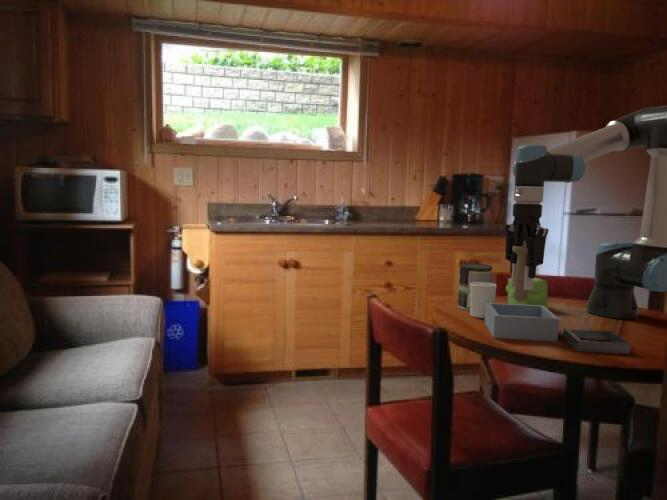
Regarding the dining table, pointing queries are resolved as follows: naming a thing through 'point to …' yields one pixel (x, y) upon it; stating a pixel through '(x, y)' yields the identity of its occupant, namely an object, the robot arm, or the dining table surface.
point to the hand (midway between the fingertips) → (521, 287)
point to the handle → (520, 273)
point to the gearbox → (531, 293)
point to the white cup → (481, 297)
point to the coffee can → (468, 275)
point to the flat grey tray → (613, 346)
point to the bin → (521, 322)
